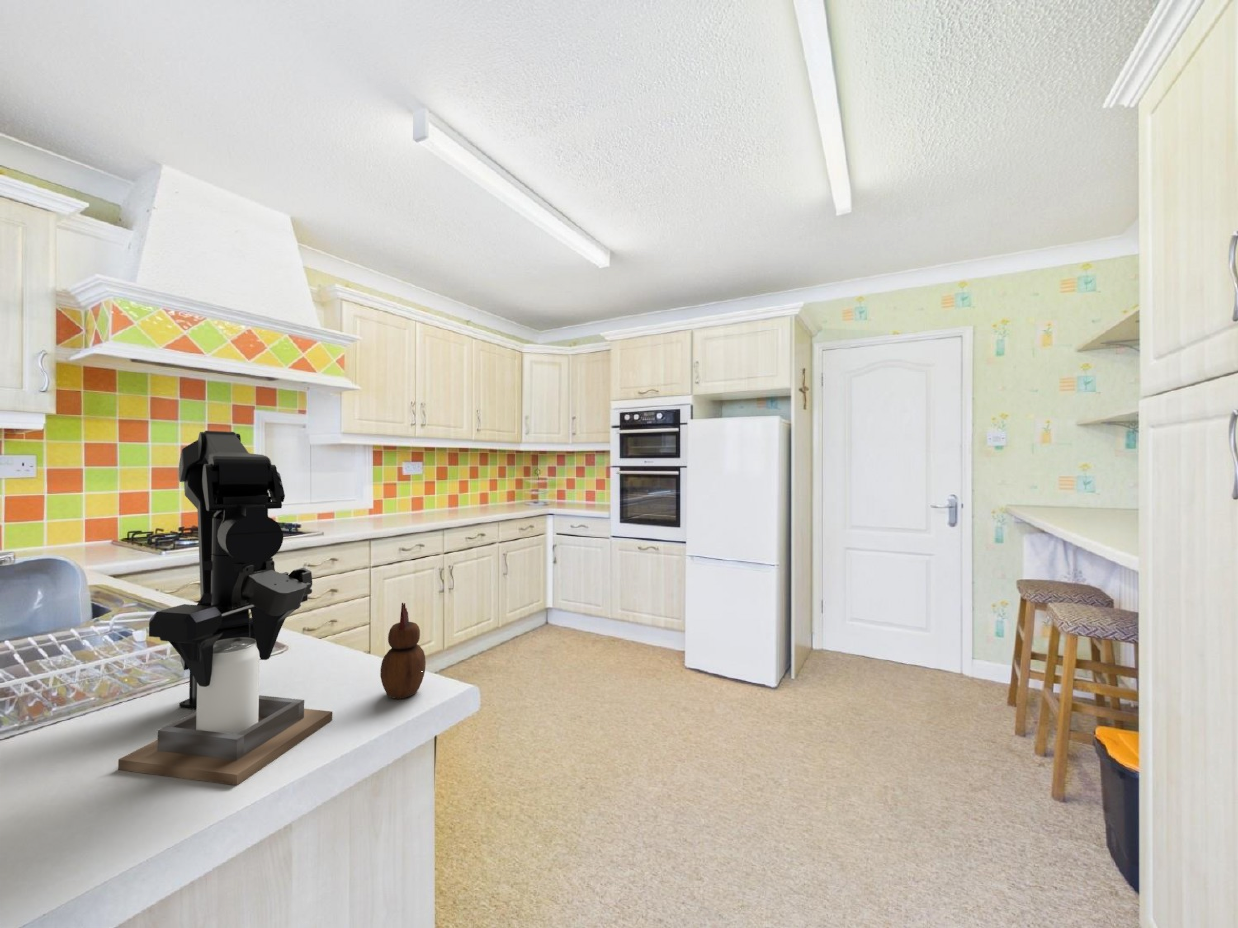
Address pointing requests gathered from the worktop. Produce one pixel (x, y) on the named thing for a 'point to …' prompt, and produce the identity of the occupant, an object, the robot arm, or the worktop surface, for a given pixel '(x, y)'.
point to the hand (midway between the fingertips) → (236, 671)
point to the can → (230, 688)
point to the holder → (227, 744)
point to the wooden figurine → (403, 659)
